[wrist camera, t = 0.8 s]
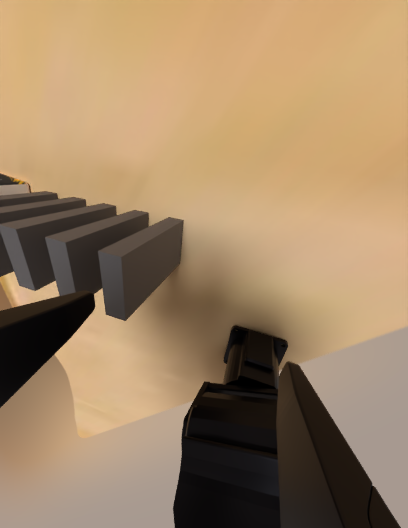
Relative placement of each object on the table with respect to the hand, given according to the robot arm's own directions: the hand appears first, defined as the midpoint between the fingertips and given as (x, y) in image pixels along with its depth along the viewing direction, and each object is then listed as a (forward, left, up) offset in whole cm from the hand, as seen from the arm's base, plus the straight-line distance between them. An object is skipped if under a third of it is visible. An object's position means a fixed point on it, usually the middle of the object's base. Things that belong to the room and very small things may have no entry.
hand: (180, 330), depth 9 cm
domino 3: (-1, +14, -13) cm, 19 cm away
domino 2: (-1, +10, -13) cm, 16 cm away
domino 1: (-1, +6, -13) cm, 14 cm away
